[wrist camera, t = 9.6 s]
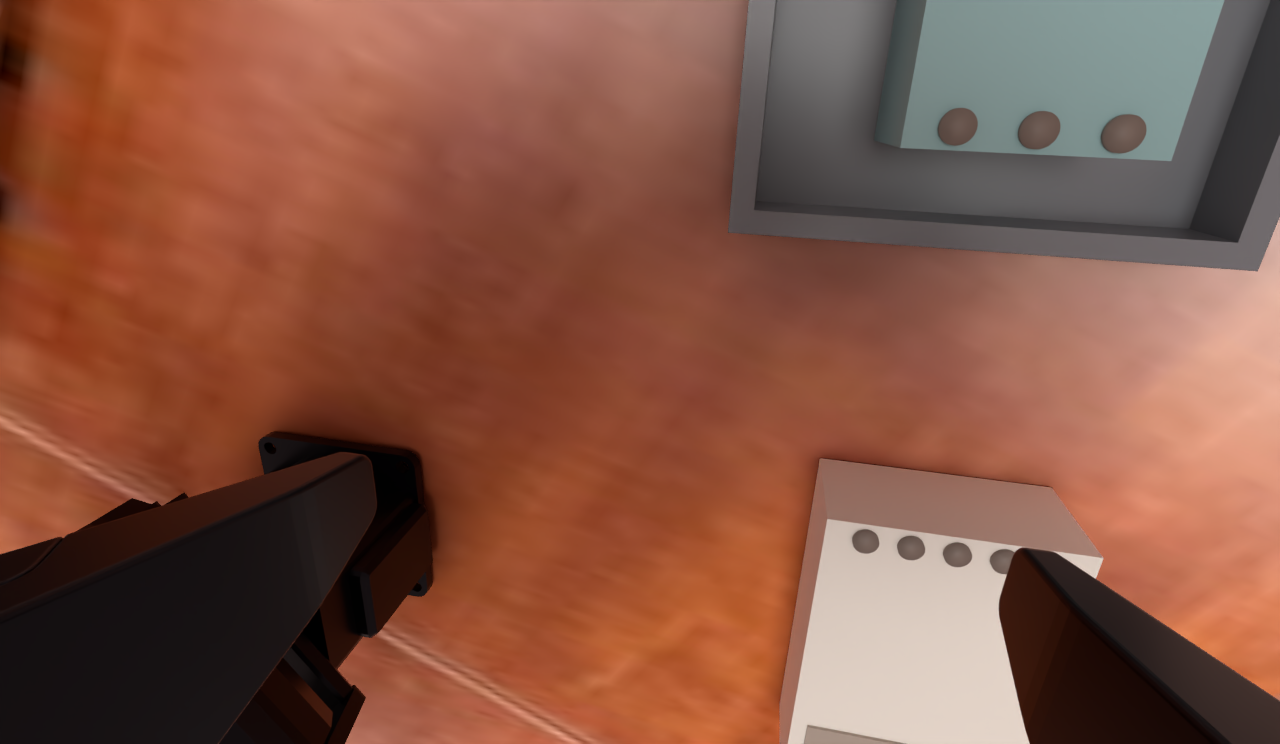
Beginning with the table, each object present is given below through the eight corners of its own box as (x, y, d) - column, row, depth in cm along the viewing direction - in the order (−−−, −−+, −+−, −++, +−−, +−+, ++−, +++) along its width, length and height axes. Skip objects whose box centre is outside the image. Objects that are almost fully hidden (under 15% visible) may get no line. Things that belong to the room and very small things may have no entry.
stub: (874, 140, 17) (901, 148, 13) (906, -62, 15) (949, -120, 12) (1082, 150, 16) (1175, 162, 12) (1142, -63, 14) (1270, -125, 11)
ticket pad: (779, 703, 25) (779, 793, 22) (819, 458, 21) (827, 521, 18) (969, 740, 24) (1000, 839, 21) (1051, 487, 20) (1106, 561, 17)
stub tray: (733, 218, 19) (728, 232, 17) (769, -162, 16) (767, -209, 13) (1193, 249, 17) (1257, 271, 15) (1348, -178, 14) (1462, -236, 11)
